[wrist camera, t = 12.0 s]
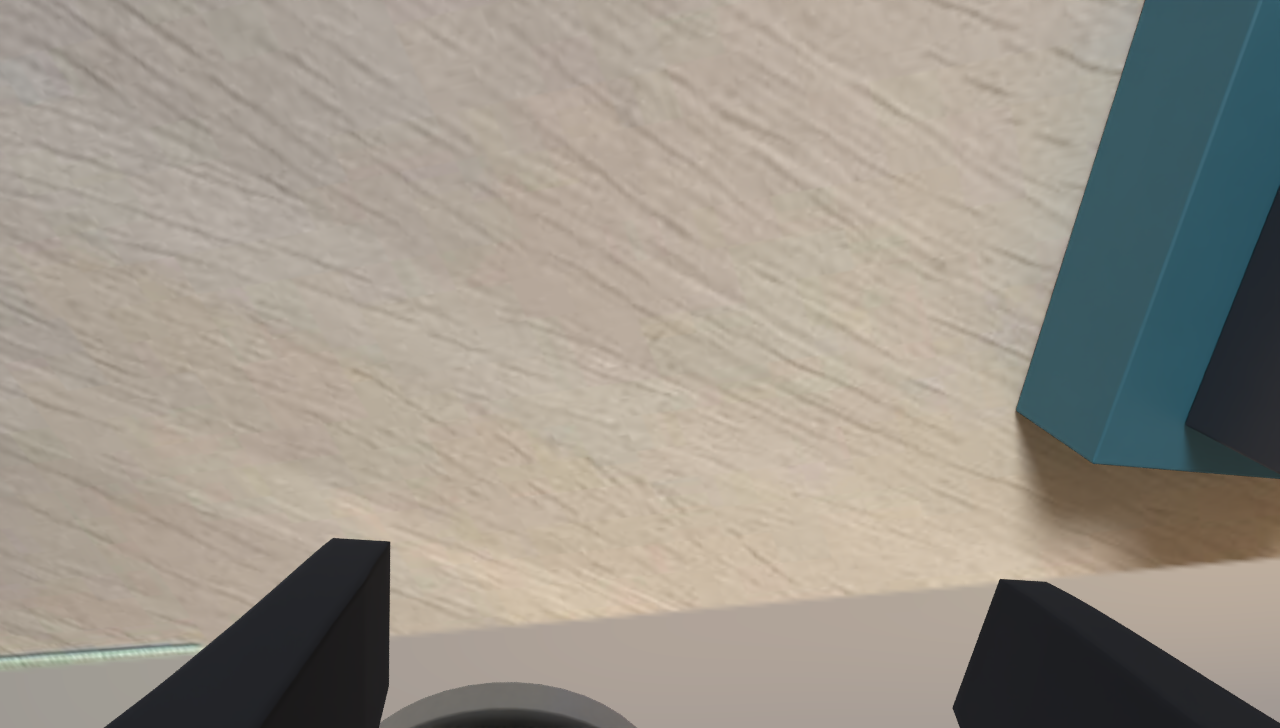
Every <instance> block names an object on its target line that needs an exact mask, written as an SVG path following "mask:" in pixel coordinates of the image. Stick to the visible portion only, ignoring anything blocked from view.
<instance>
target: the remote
mask: <svg viewBox="0 0 1280 728" xmlns="http://www.w3.org/2000/svg"><path fill="white" fill-rule="evenodd" d="M1186 425H1187V426H1188V427H1190V428H1192V429H1194V430H1196V431H1198V432H1200V433H1202V434H1203V435H1205V436H1207V437H1209V438H1211V439H1213V440H1215V441H1217V442H1219V443H1221V444H1223V445H1225V446H1226V447H1228V448H1230V449H1232V450H1234V451H1236V452H1238V453H1240V454H1242V455H1244V456H1246V457H1248V458H1249V459H1251V460H1253V461H1255V462H1257V463H1259V464H1261V465H1263V466H1265V467H1267V468H1269V469H1271V470H1272V471H1274V472H1276V473H1278V474H1280V186H1279V189H1278V191H1277V194H1276V196H1275V199H1274V201H1273V204H1272V206H1271V209H1270V211H1269V214H1268V216H1267V219H1266V221H1265V224H1264V226H1263V229H1262V231H1261V234H1260V236H1259V239H1258V241H1257V244H1256V246H1255V249H1254V251H1253V254H1252V256H1251V259H1250V262H1249V264H1248V267H1247V269H1246V272H1245V274H1244V277H1243V279H1242V282H1241V284H1240V287H1239V289H1238V292H1237V294H1236V297H1235V299H1234V302H1233V304H1232V307H1231V309H1230V312H1229V314H1228V317H1227V319H1226V322H1225V324H1224V327H1223V329H1222V332H1221V334H1220V337H1219V339H1218V342H1217V344H1216V347H1215V349H1214V352H1213V354H1212V357H1211V359H1210V362H1209V364H1208V367H1207V369H1206V372H1205V374H1204V377H1203V379H1202V382H1201V384H1200V387H1199V389H1198V392H1197V395H1196V397H1195V400H1194V402H1193V405H1192V407H1191V410H1190V412H1189V415H1188V417H1187V420H1186Z"/></svg>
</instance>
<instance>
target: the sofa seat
mask: <svg viewBox="0 0 1280 728" xmlns="http://www.w3.org/2000/svg"><path fill="white" fill-rule="evenodd" d="M1279 186H1280V0H1145V3H1144V6H1143V9H1142V12H1141V16H1140V19H1139V22H1138V25H1137V28H1136V31H1135V35H1134V38H1133V41H1132V44H1131V47H1130V50H1129V54H1128V57H1127V60H1126V63H1125V66H1124V69H1123V73H1122V76H1121V79H1120V82H1119V85H1118V88H1117V92H1116V95H1115V98H1114V101H1113V104H1112V107H1111V111H1110V114H1109V117H1108V120H1107V123H1106V126H1105V130H1104V133H1103V136H1102V139H1101V142H1100V145H1099V149H1098V152H1097V155H1096V158H1095V161H1094V164H1093V168H1092V171H1091V174H1090V177H1089V180H1088V183H1087V187H1086V190H1085V193H1084V196H1083V199H1082V202H1081V206H1080V209H1079V212H1078V215H1077V218H1076V221H1075V225H1074V228H1073V231H1072V234H1071V237H1070V240H1069V244H1068V247H1067V250H1066V253H1065V256H1064V259H1063V263H1062V266H1061V269H1060V272H1059V275H1058V278H1057V282H1056V285H1055V288H1054V291H1053V294H1052V297H1051V301H1050V304H1049V307H1048V310H1047V313H1046V316H1045V320H1044V323H1043V326H1042V329H1041V332H1040V335H1039V339H1038V342H1037V345H1036V348H1035V351H1034V354H1033V358H1032V361H1031V364H1030V367H1029V370H1028V373H1027V376H1026V380H1025V383H1024V386H1023V389H1022V392H1021V395H1020V399H1019V402H1018V405H1017V408H1016V411H1017V412H1019V413H1020V414H1021V415H1023V416H1024V417H1026V418H1027V419H1029V420H1030V421H1032V422H1033V423H1035V424H1036V425H1037V426H1039V427H1040V428H1042V429H1043V430H1045V431H1046V432H1048V433H1049V434H1051V435H1052V436H1053V437H1055V438H1056V439H1058V440H1059V441H1061V442H1062V443H1064V444H1065V445H1067V446H1068V447H1069V448H1071V449H1072V450H1074V451H1075V452H1077V453H1078V454H1080V455H1081V456H1082V457H1084V458H1085V459H1087V460H1088V461H1090V462H1091V463H1093V464H1103V465H1115V466H1127V467H1140V468H1152V469H1164V470H1177V471H1189V472H1201V473H1214V474H1226V475H1238V476H1251V477H1263V478H1275V479H1280V474H1278V473H1276V472H1274V471H1272V470H1271V469H1269V468H1267V467H1265V466H1263V465H1261V464H1259V463H1257V462H1255V461H1253V460H1251V459H1249V458H1248V457H1246V456H1244V455H1242V454H1240V453H1238V452H1236V451H1234V450H1232V449H1230V448H1228V447H1226V446H1225V445H1223V444H1221V443H1219V442H1217V441H1215V440H1213V439H1211V438H1209V437H1207V436H1205V435H1203V434H1202V433H1200V432H1198V431H1196V430H1194V429H1192V428H1190V427H1188V426H1187V425H1186V420H1187V417H1188V415H1189V412H1190V410H1191V407H1192V405H1193V402H1194V400H1195V397H1196V395H1197V392H1198V389H1199V387H1200V384H1201V382H1202V379H1203V377H1204V374H1205V372H1206V369H1207V367H1208V364H1209V362H1210V359H1211V357H1212V354H1213V352H1214V349H1215V347H1216V344H1217V342H1218V339H1219V337H1220V334H1221V332H1222V329H1223V327H1224V324H1225V322H1226V319H1227V317H1228V314H1229V312H1230V309H1231V307H1232V304H1233V302H1234V299H1235V297H1236V294H1237V292H1238V289H1239V287H1240V284H1241V282H1242V279H1243V277H1244V274H1245V272H1246V269H1247V267H1248V264H1249V262H1250V259H1251V256H1252V254H1253V251H1254V249H1255V246H1256V244H1257V241H1258V239H1259V236H1260V234H1261V231H1262V229H1263V226H1264V224H1265V221H1266V219H1267V216H1268V214H1269V211H1270V209H1271V206H1272V204H1273V201H1274V199H1275V196H1276V194H1277V191H1278V189H1279Z"/></svg>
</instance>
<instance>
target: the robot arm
mask: <svg viewBox="0 0 1280 728" xmlns="http://www.w3.org/2000/svg"><path fill="white" fill-rule="evenodd" d="M389 616H390V542H388V541H372V540H355V539H339V538H333V539H331V540H330V541H329V542H327V543H326V544H325V545H323V546H322V547H321V548H320V549H319V550H318V551H316V552H315V553H314V554H313V555H312V556H311V557H309V558H308V559H307V560H306V561H305V562H304V563H303V564H301V565H300V566H299V567H298V568H297V569H296V570H295V571H293V572H292V573H291V574H290V575H289V576H288V577H287V578H286V579H284V580H283V581H282V582H281V583H280V584H279V585H278V586H277V587H275V588H274V589H273V590H272V591H271V592H270V593H269V594H267V595H266V596H265V597H264V598H263V599H262V600H261V601H259V602H258V603H257V604H256V605H255V606H254V607H252V608H251V609H250V610H249V611H248V612H247V613H246V614H244V615H243V616H242V617H241V618H240V619H239V620H237V621H236V622H235V623H234V624H233V625H232V626H230V627H229V628H228V629H227V630H225V631H224V632H223V633H222V634H221V635H219V636H218V637H217V638H216V639H215V640H213V641H212V642H211V643H210V644H209V645H207V646H206V647H205V648H204V649H203V650H201V651H200V652H199V653H198V654H197V655H195V656H194V657H193V658H192V659H191V660H190V661H188V662H187V663H186V664H185V665H183V666H182V667H181V668H180V669H179V670H178V671H176V672H175V673H174V674H173V675H171V676H170V677H169V678H168V679H166V680H165V681H164V682H163V683H161V684H160V685H159V686H158V687H156V688H155V689H154V690H153V691H151V692H150V693H149V694H147V695H146V696H145V697H144V698H142V699H141V700H140V701H138V702H137V703H136V704H134V705H133V706H132V707H130V708H129V709H128V710H126V711H125V712H124V713H123V714H121V715H120V716H119V717H117V718H116V719H115V720H113V721H112V722H111V723H109V724H108V725H107V726H106V727H104V728H379V725H380V720H381V716H382V712H383V708H384V704H385V700H386V695H387V691H388V687H389ZM953 710H954V713H955V716H956V718H957V721H958V724H959V726H960V728H1280V723H1279V722H1277V721H1275V720H1274V719H1272V718H1270V717H1269V716H1267V715H1266V714H1264V713H1262V712H1261V711H1259V710H1257V709H1256V708H1254V707H1253V706H1251V705H1249V704H1248V703H1246V702H1245V701H1243V700H1241V699H1240V698H1238V697H1237V696H1235V695H1233V694H1232V693H1230V692H1229V691H1227V690H1225V689H1224V688H1222V687H1221V686H1219V685H1217V684H1216V683H1214V682H1213V681H1211V680H1209V679H1208V678H1206V677H1204V676H1203V675H1201V674H1200V673H1198V672H1197V671H1195V670H1193V669H1192V668H1190V667H1188V666H1187V665H1186V664H1184V663H1182V662H1180V661H1179V660H1178V659H1176V658H1174V657H1173V656H1171V655H1170V654H1168V653H1166V652H1165V651H1163V650H1162V649H1160V648H1158V647H1157V646H1155V645H1154V644H1152V643H1150V642H1149V641H1147V640H1146V639H1144V638H1142V637H1141V636H1139V635H1138V634H1136V633H1135V632H1133V631H1131V630H1130V629H1128V628H1126V627H1125V626H1123V625H1121V624H1120V623H1118V622H1117V621H1115V620H1113V619H1111V618H1110V617H1108V616H1107V615H1105V614H1103V613H1102V612H1100V611H1098V610H1097V609H1095V608H1093V607H1092V606H1090V605H1088V604H1086V603H1085V602H1083V601H1081V600H1079V599H1078V598H1076V597H1074V596H1072V595H1070V594H1069V593H1067V592H1065V591H1063V590H1061V589H1059V588H1057V587H1055V586H1053V585H1051V584H1049V583H1047V582H1040V581H1023V580H1007V579H1000V580H999V583H998V585H997V588H996V591H995V594H994V597H993V599H992V602H991V605H990V607H989V610H988V613H987V615H986V618H985V621H984V623H983V626H982V629H981V632H980V634H979V637H978V640H977V643H976V645H975V648H974V651H973V653H972V656H971V659H970V662H969V664H968V667H967V670H966V673H965V675H964V678H963V681H962V683H961V686H960V689H959V692H958V694H957V697H956V700H955V702H954V705H953Z"/></svg>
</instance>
